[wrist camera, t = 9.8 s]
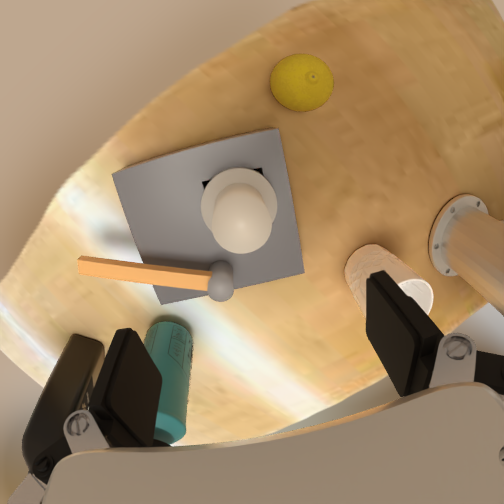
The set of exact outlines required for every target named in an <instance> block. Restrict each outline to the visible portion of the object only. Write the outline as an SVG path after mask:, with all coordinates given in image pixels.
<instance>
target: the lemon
mask: <svg viewBox="0 0 504 504" xmlns="http://www.w3.org/2000/svg"><path fill="white" fill-rule="evenodd" d="M270 87H271V91H272V93H273V95H274V97H275V98H276V100H277V101H278V102H279V103H280V104H282V105H283V106H284V107H286V108H288V109H290V110H294V111H304V112H306V111H310V110H314V109H316V108H318V107H320V106H322V105H323V104H324V103H325V102H326V101H327V100H328V99H329V97H330V96H331V94H332V91H333V87H334V80H333V75H332V73H331V71H330V69H329V67H328V66H327V65H326V64H325V63H324V62H323V61H322V60H320V59H319V58H317V57H315V56H313V55H308V54H294V55H291V56H287V57H286V58H284V59H282V60H281V61H279V63H278V64H277V65H276V66H275V67H274V69H273V71H272V73H271V78H270Z"/></svg>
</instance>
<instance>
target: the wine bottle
mask: <svg viewBox="0 0 504 504" xmlns="http://www.w3.org/2000/svg"><path fill="white" fill-rule="evenodd" d="M103 362H104V348H103V345H102V344H101V343H100V342H97V341H95V340H91V339H88V338H85V337H82V336H79V335H72V336H71V337H70V339H69V341H68V343H67V345H66V346H65V348H64V350H63V352H62V354H61V356H60V358H59V359H58V361H57V363H56V365H55V367H54V369H53V371H52V373H51V375H50V377H49V379H48V381H47V383H46V385H45V387H44V389H43V391H42V394H41V396H40V398H39V400H38V402H37V405H36V407H35V409H34V411H33V413H32V416H31V418H30V420H29V423H28V425H27V428H26V430H25V432H24V435H23V439H22V453H23V457H24V459H25V462H26V464H27V466H28V468H29V472H28V474H29V473H30V474H32V475H33V470H32V466H33V462H34V459H35V458H36V456H37V455H39V454H40V453H41V452H42V451H44V450H45V449H47V448H48V447H49V446H51V445H52V444H54V443H55V442H56V441H58V440H59V439H61V438H62V437H63V436H65V434H64V430H63V428H64V423H65V421H66V419H67V418H68V417H69V415H71V414H72V413H73V412H75V411H78V410H88V407H89V406H88V403H89V400H90V397H91V395H92V392H93V389H94V386H95V384H96V381H97V378H98V375H99V373H100V370H101V368H102V365H103Z"/></svg>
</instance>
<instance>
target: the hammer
mask: <svg viewBox="0 0 504 504" xmlns="http://www.w3.org/2000/svg"><path fill="white" fill-rule="evenodd" d="M78 269H79V274H82V275H88V276H95V277H101V278H108V279H115V280H122V281H129V282H137V283H144V284H152V285H160V286H168V287H177V288H185V289H194V290H203V291H207V292H208V295H209V297H210V298H211V299H213V300H215V301H219V302H223V301H226V300H228V299H230V298H231V297H232V295H233V292H234V287H233V269H232V266H231V265H230V264H229V263H228V262H226V261H216V262H214V263H213V264H212V265H211V266H210V268H209V271H203V270H194V269H185V268H176V267H168V266H159V265H151V264H143V263H135V262H127V261H119V260H111V259H103V258H96V257H88V256H81V257H80V258H79V259H78Z"/></svg>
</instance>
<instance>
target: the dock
mask: <svg viewBox="0 0 504 504" xmlns="http://www.w3.org/2000/svg"><path fill="white" fill-rule="evenodd" d="M232 167H246V168H250V169H256V168H259V170H260V174H262V175H263V176H264V177H265V178H266V179H267V180H268V181H269V183H270V184H271V186H272V188H273V189H274V192H275V194H276V198H277V213H276V216H275V219H274V221H273V223H272V229H271V233H270V236H269V238H268V240H267V241H266V242H265V244H264V245H263V246H261V247H260V248H259V249H257V250H255V251H253V252H250V253H245V254H238V253H233V252H230V251H227V250H226V249H224V248H223V247H221V246H220V245H219V244H218V243H217V241H216V240H215V238H214V235H213V232H212V231H211V230H210V229H209V228H208V227H207V225H206V224H205V222H204V220H203V217H202V213H201V200H202V196H203V193H204V190H205V188H206V186H207V180H210V179H212V178H213V177H214V176H215V175H216V174H218V173H219V172H221V171H223V170H225V169H228V168H232ZM112 177H113V180H114V183H115V186H116V189H117V192H118V195H119V198H120V201H121V204H122V207H123V210H124V213H125V216H126V219H127V222H128V224H129V227H130V230H131V232H132V235H133V238H134V240H135V243H136V246H137V248H138V251H139V253H140V256H141V258H142V261H143V263H144V264H151V265H159V266H168V267H176V268H185V269H194V270H203V271H209V268H210V266H211V265H212V264H213V263H214V262H216V261H226V262H228V263H229V264H230V265H231V266H232V269H233V287H234V289H238V288H243V287H247V286H251V285H256V284H260V283H264V282H269V281H273V280H277V279H281V278H286V277H290V276H294V275H298V274H302V273H305V272H304V265H303V259H302V253H301V246H300V240H299V234H298V228H297V222H296V217H295V211H294V205H293V200H292V194H291V189H290V183H289V178H288V173H287V168H286V163H285V158H284V153H283V148H282V143H281V138H280V133H279V129H278V128H267V129H262V130H257V131H252V132H248V133H243V134H239V135H234V136H230V137H226V138H222V139H218V140H214V141H210V142H206V143H202V144H198V145H195V146H191V147H187V148H184V149H180V150H177V151H174V152H170V153H167V154H164V155H160V156H157V157H154V158H151V159H148V160H145V161H142V162H139V163H136V164H133V165H130V166H127V167H124V168H122V169H120V170H119V171H117V172H115V173H113V174H112ZM153 287H154V290H155V292H156V294H157V297H158V299H159V301H160V303H161V305H163V304H168V303H173V302H178V301H182V300H187V299H192V298H197V297H201V296H206V295H208V292H207V291H203V290H194V289H185V288H177V287H168V286H160V285H153Z"/></svg>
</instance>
